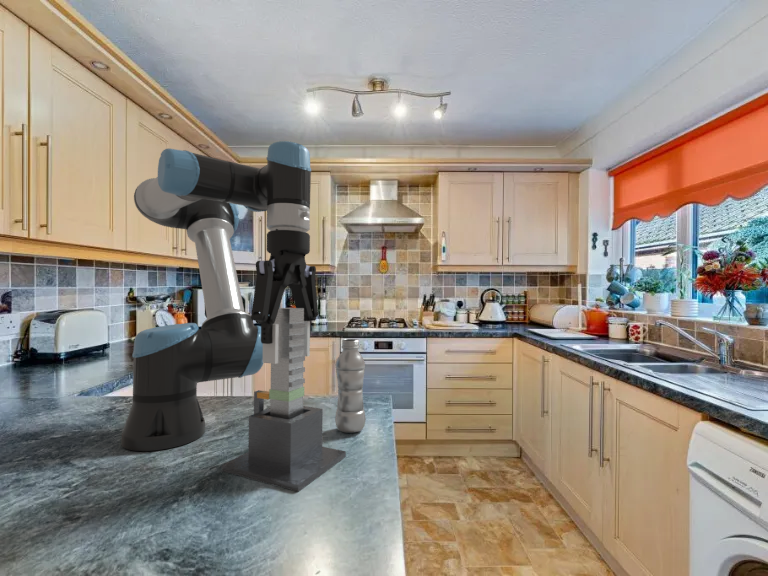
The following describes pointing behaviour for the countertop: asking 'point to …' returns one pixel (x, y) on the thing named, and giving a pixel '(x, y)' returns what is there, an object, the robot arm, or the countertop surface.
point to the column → (288, 365)
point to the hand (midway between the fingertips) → (287, 358)
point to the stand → (284, 448)
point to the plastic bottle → (350, 388)
